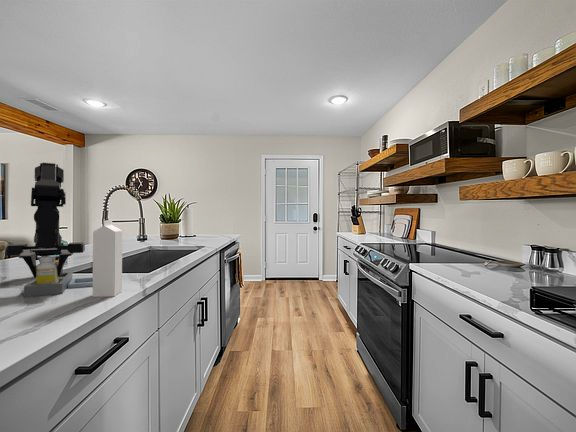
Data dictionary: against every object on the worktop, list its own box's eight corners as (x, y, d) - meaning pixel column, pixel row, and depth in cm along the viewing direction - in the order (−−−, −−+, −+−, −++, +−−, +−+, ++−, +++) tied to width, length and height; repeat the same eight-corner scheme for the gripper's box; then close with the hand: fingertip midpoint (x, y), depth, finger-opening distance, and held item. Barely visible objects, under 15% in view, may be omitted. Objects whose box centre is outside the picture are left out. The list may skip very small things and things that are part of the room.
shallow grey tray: (40, 282, 108) (40, 259, 108) (72, 280, 112) (72, 258, 112) (24, 296, 90) (24, 269, 90) (62, 293, 95) (62, 267, 94)
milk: (122, 291, 98) (123, 220, 98) (114, 296, 92) (115, 220, 92) (100, 292, 97) (101, 219, 97) (91, 297, 91) (92, 220, 91)
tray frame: (72, 282, 110) (72, 278, 110) (104, 279, 114) (104, 276, 114) (68, 288, 101) (68, 284, 101) (103, 285, 106) (103, 281, 106)
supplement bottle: (46, 286, 100) (46, 255, 100) (62, 286, 100) (62, 255, 99) (31, 290, 95) (31, 257, 94) (48, 291, 94) (48, 258, 94)
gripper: (86, 224, 108) (86, 270, 108) (16, 224, 100) (16, 274, 100) (82, 226, 98) (82, 276, 98) (4, 226, 90) (4, 281, 90)
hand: (47, 276), depth 97 cm, fingers closed on supplement bottle, 5 cm apart
